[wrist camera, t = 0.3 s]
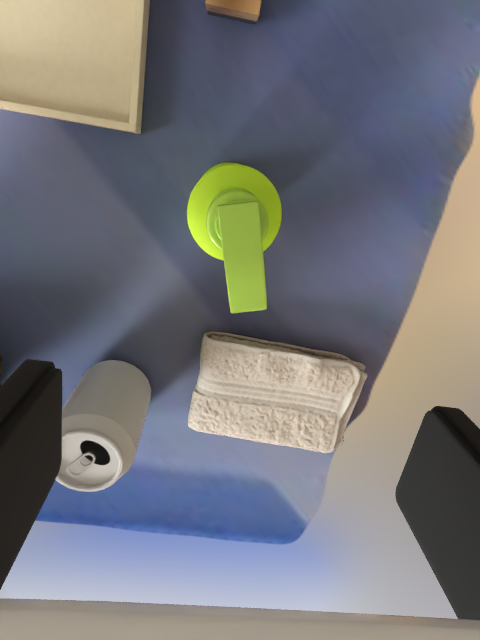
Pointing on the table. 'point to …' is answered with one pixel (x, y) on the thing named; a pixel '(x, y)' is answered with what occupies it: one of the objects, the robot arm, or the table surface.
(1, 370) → the ceramic jug
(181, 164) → the table surface
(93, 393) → the can
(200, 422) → the washcloth
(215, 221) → the lime green pump bottle
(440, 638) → the robot arm
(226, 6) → the brush
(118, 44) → the tray
